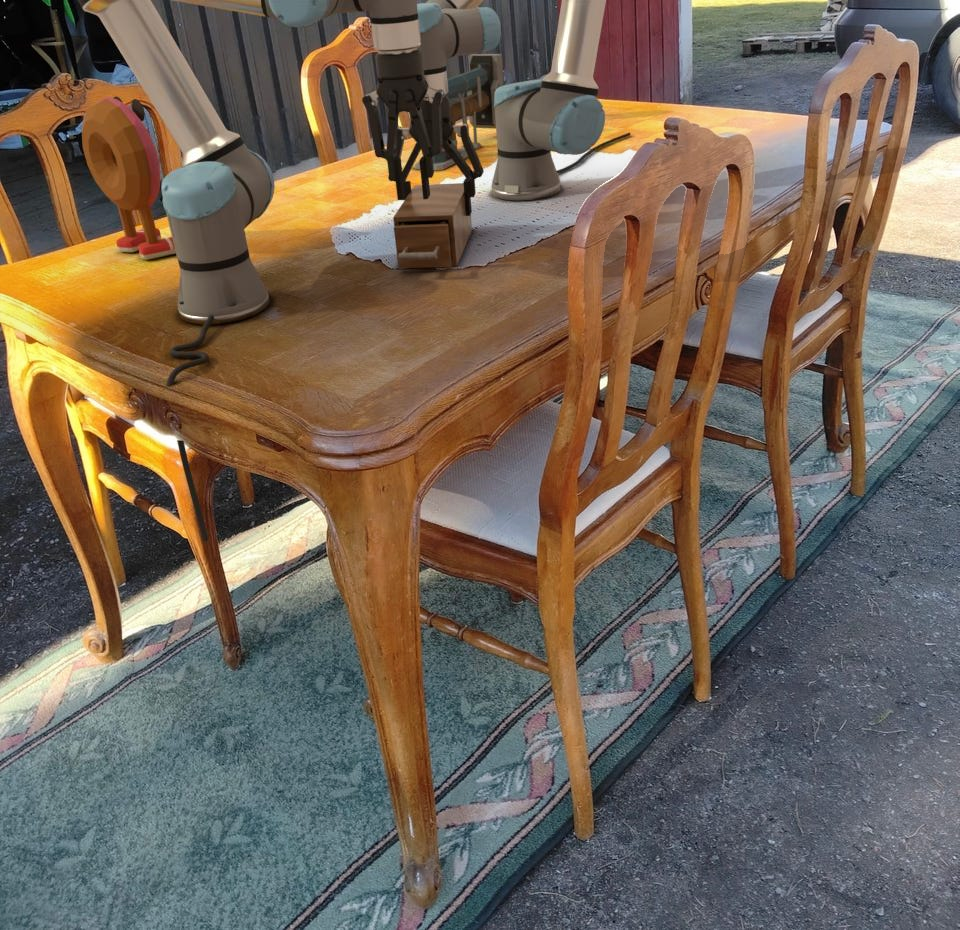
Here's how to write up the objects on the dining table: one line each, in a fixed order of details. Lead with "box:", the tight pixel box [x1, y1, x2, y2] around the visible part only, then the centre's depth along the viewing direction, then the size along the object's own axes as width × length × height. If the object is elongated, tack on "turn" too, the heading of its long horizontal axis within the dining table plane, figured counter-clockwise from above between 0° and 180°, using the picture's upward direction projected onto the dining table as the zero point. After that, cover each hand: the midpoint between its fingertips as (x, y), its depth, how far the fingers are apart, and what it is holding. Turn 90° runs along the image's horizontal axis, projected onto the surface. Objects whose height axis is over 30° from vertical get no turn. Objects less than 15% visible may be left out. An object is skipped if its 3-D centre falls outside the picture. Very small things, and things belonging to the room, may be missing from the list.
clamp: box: [413, 53, 505, 171], centre depth 247 cm, size 35×9×21 cm, turn 151°
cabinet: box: [392, 182, 473, 267], centre depth 184 cm, size 21×11×9 cm, turn 173°
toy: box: [81, 95, 176, 260], centre depth 191 cm, size 21×10×30 cm, turn 47°
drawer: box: [393, 220, 452, 269], centre depth 179 cm, size 25×10×8 cm, turn 173°
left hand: (414, 197), depth 165 cm, fingers open, 4 cm apart
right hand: (439, 215), depth 189 cm, fingers closed on cabinet, 11 cm apart
